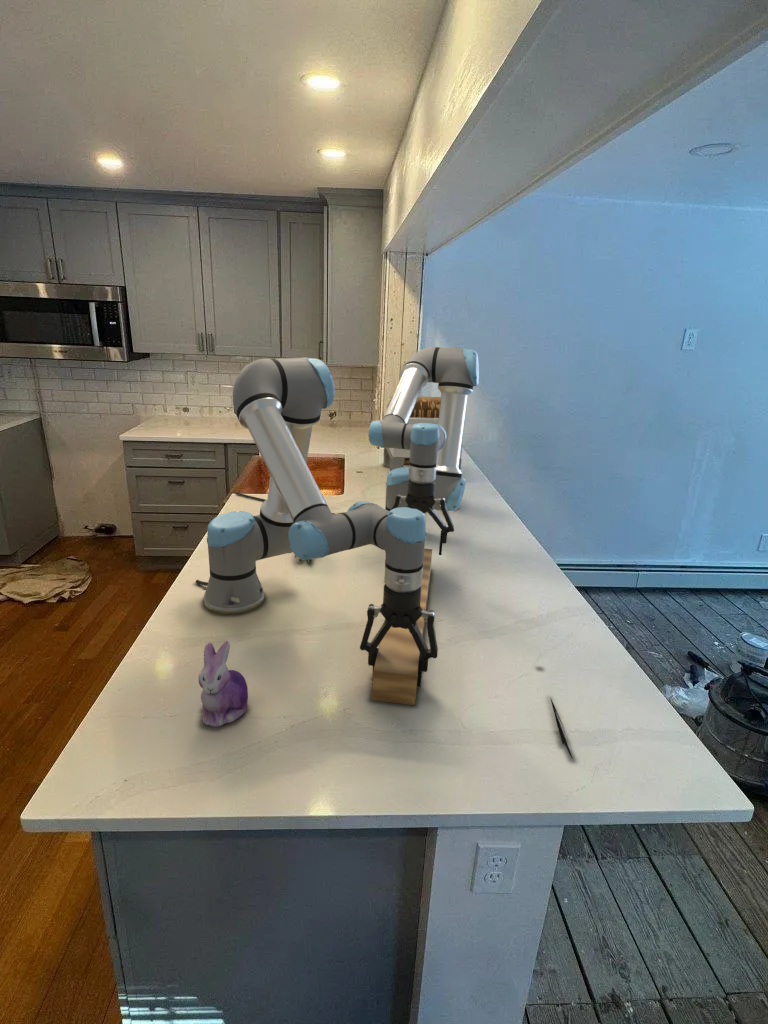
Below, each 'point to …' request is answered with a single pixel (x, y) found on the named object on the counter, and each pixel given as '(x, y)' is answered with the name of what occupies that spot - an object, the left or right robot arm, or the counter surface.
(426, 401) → the white slatted crate
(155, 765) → the counter surface
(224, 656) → the figurine
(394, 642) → the wide beam
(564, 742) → the feather
